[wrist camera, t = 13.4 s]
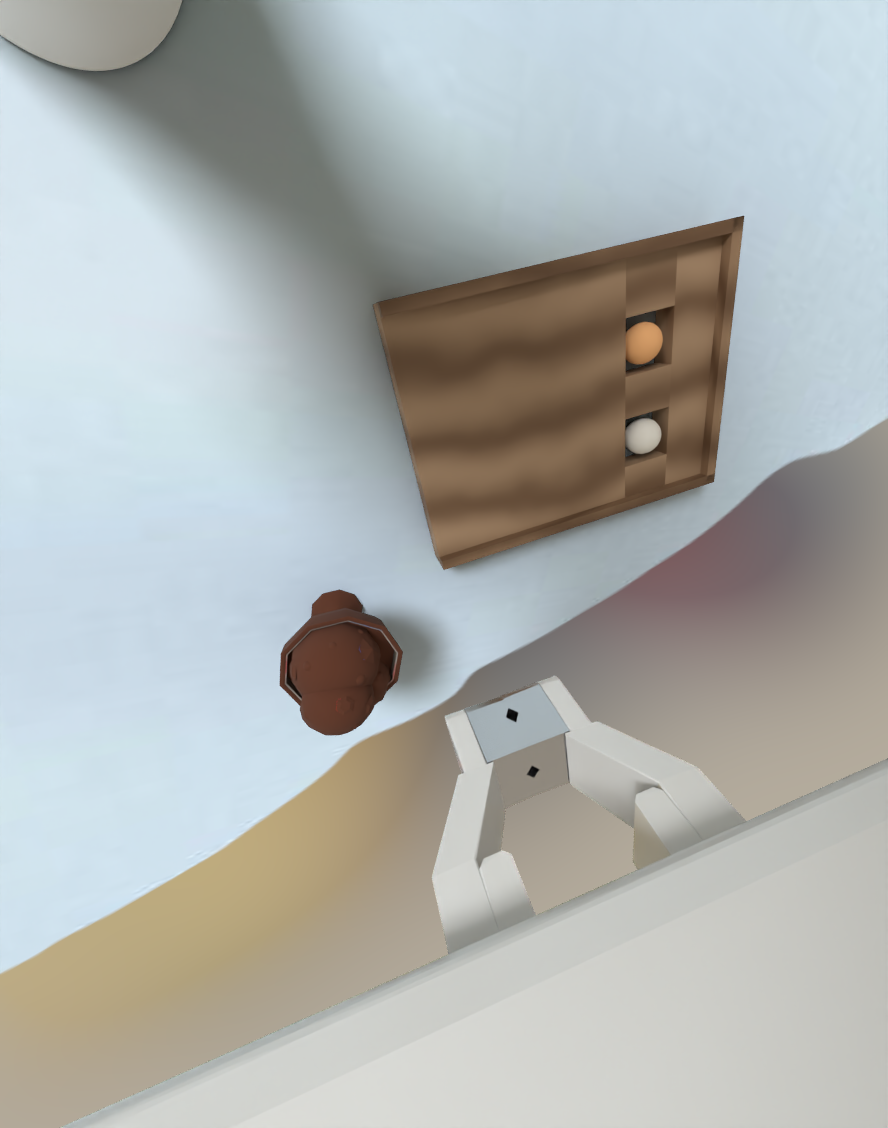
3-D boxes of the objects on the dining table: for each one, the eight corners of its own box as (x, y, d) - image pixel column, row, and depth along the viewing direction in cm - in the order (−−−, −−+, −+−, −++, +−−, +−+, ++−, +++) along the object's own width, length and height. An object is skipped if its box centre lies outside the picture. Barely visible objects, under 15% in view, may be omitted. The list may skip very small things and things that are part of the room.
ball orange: (671, 317, 39) (652, 317, 42) (630, 326, 39) (614, 326, 42) (669, 361, 41) (651, 358, 44) (630, 370, 41) (615, 366, 44)
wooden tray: (372, 304, 36) (378, 301, 33) (711, 224, 40) (744, 215, 37) (435, 555, 48) (443, 569, 45) (690, 473, 52) (713, 481, 49)
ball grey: (616, 420, 46) (638, 426, 43) (646, 411, 47) (670, 417, 44) (616, 453, 48) (637, 461, 45) (645, 444, 49) (668, 452, 45)
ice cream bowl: (395, 636, 51) (424, 737, 38) (298, 662, 49) (295, 777, 36) (378, 557, 46) (404, 643, 33) (269, 583, 44) (252, 684, 31)
